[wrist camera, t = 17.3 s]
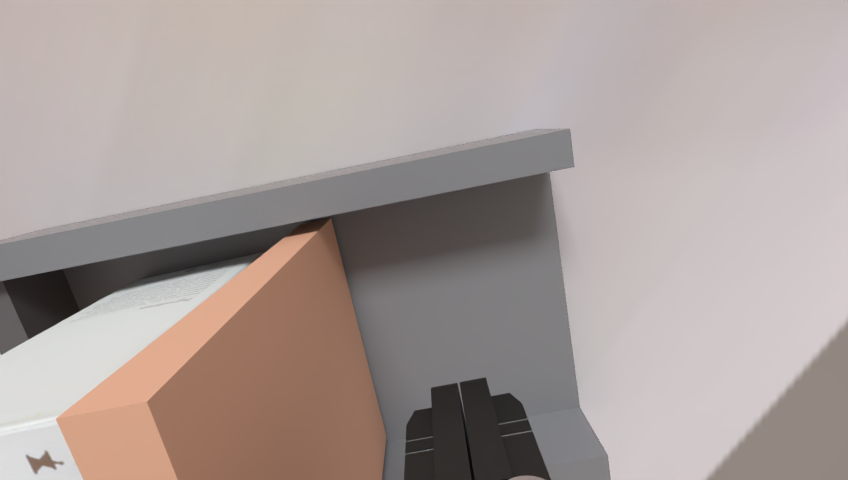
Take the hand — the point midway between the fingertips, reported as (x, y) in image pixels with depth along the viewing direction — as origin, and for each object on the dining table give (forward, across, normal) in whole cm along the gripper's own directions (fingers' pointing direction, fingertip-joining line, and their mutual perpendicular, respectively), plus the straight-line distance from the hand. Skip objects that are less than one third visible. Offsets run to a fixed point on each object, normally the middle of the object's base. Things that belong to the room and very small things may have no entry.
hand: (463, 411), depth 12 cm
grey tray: (+8, +6, 0) cm, 10 cm away
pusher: (+7, +4, 0) cm, 8 cm away
